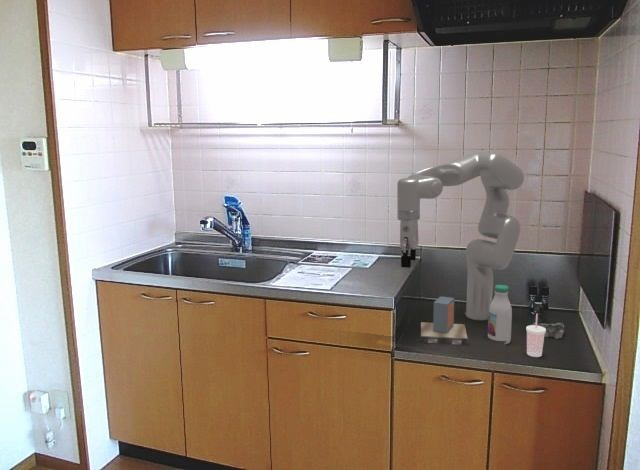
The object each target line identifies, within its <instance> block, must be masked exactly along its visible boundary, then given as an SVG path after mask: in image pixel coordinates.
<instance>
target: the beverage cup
mask: <svg viewBox="0 0 640 470" xmlns="http://www.w3.org/2000/svg"><path fill="white" fill-rule="evenodd" d="M538 316H539V313H536V314H535V323H536V325H533V324H529V325H527V326H526V328H525V329H526V330H525V331H526V355H528V356H530V357H533V358H539V357H542V356H543V347H544V342H545V336H544V335H545V333H546V329H545V328H544V327H542V326H537V323H538Z"/></svg>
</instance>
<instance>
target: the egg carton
mask: <svg viewBox="0 0 640 470" xmlns="http://www.w3.org/2000/svg"><path fill="white" fill-rule="evenodd" d="M532 325H536V322H533V323H532ZM537 326H542V327H544V328H545V329H546V333H545V335H544V338H550V337H551V338H554V339H557V340H558V339H562V338H563V336H564V332H565V322H564V323H563V322H555V323H538V322H537Z"/></svg>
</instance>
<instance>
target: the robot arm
mask: <svg viewBox="0 0 640 470" xmlns="http://www.w3.org/2000/svg"><path fill="white" fill-rule="evenodd" d="M478 177H479V178H480V181H481V184H482V185H483V187H484V190H485V191H484V192H485V194H486V198H485V199H486V200H485V203H484V206H483V209H482V212H481V216H480V219H479V222H478V226H477V230H478V233H479V234H480V235H481V236H483V237H486V238H489V239H494V240H496V242H494V241H491V240H486V239H479V238H478V239H473V240H471V241H469V243H468V244H467V245H466V248H465V259H466V265H467V280H466V281H467V282H466V283H467V284H466V304H465V305H466V307H465V308H466V310H465V312H464V313H463V314H464V315H465V317H466V318H468V319H471V320H474V321H488V319H489V308H490V304H491V302H492V300H493V292H494V291H493V289H494V272H493V269H494V270H497V271H498V270H500V271H501V270H505V269H506V268H507V267H508V266H509V264H510V263H511V261H512V259H513V255H514V253H515V249H516V246H517V244H518V242H519V238H520V235H521V234H520V233H521V224H520V221H519V219H517V218H516V217H515V216H513V215H510V214H509V215H508V214H507V213H508V209H509V206H510V197H509V194H508V191H507V190H509V191H510V190H511V191H512V190H517V189H519V188H520V187H521V186H523V183H524V179H525V176H524V172H523V170H522V169H521V168H520V167H519V166H518V165H517V164H516V163H514V162H512V161H511V160H509V159H508V158H507V157H506V156H504V155H502V154H501V153H497V152H491V151H490V152H487V151H475V152H472V153H470V154H468V155H466V156H463V157H461V158H459V159H457V160H454V161H451V162H448V163H443V164H440V165H435V166H432V167H431V166H430V167H427V168H425V169H421V170H419V171H416V172H414V173H412V174H410V175H409V176H408V177H405V178H400V179H398V180H397V187H396V188H397V190H396V191H397V192H396V193H397V194H396V195H397V197H396V198H397V201H396V202H397V204H396V205H397V207H396V209H397V214H396V215H397V220H398V221H400V224H399V244H400V245H399V247H400V249H401V253H400V257H401V258H400V266H401V268H407V269H410V268H411V267H412V261H416V259H417V257H416V256H417V253H416V251H417V250H416V249H417V247H418V245H419V243H420V242H419V221H420V220H421V219H420V217H421V199H425V200H426V199H428V200H431V199H436V198H437V197H439V196H441V194H443V193H442V192H443V190H444V187H455V186H460V185H463V184H464V183H466V182H469V181H471V180H473V179H475V178H478ZM418 220H419V221H418Z"/></svg>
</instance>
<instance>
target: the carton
mask: <svg viewBox="0 0 640 470" xmlns="http://www.w3.org/2000/svg"><path fill="white" fill-rule="evenodd" d="M432 316H433V321H432V323H433V331H434V332H439V333H445V334H447V333H448V332H449V331H450V330H451V329H452V327H453V324H454V323H455V318H454V317H455V297H449V296H439V297H438V298H437V299H436V300H435V301H434V302H433V313H432Z"/></svg>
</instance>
